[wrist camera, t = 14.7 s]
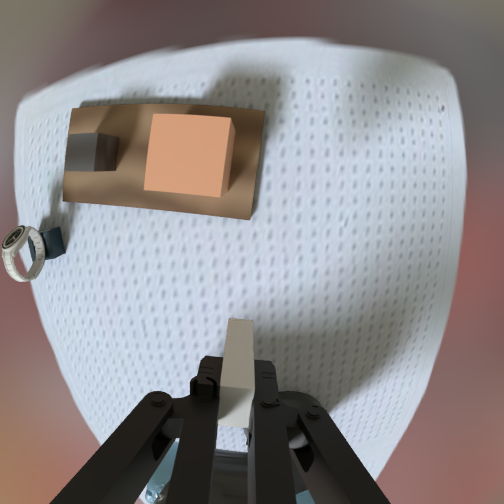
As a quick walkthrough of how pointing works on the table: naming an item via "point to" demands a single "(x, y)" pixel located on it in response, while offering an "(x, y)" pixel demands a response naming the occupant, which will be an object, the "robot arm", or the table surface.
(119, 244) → the table surface
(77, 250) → the table surface
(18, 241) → the watch
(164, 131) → the peach cube
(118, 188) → the post board
